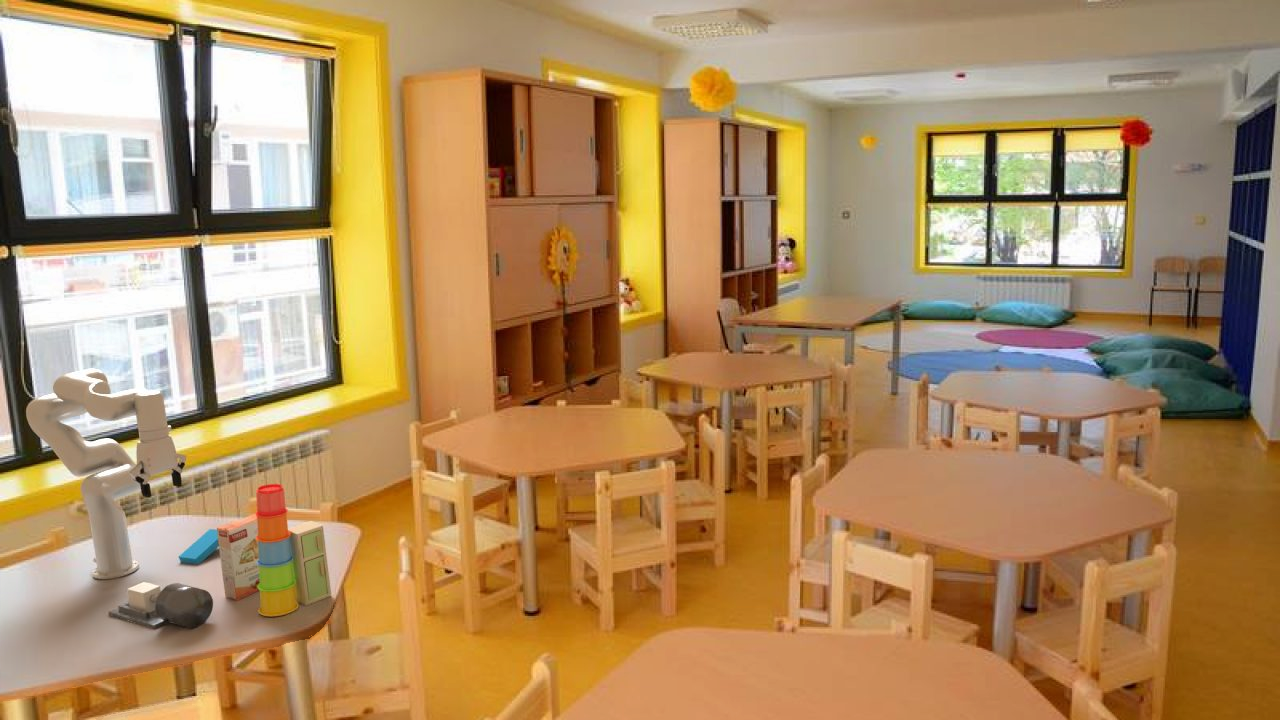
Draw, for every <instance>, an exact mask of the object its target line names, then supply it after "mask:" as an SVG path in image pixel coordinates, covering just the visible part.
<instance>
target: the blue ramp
mask: <svg viewBox="0 0 1280 720" xmlns="http://www.w3.org/2000/svg"><path fill="white" fill-rule="evenodd" d="M218 548H219V542H218V534H217V529H214V528H213V529H212V528H209V529H208V530H207V531H206V532H204V534H202V535H201V536H200V537H199V538H198V539H197V540H195V542H193V543H192V544H191V545H190V546H189V547H188V548H187V549H185V550H184V551H183V552H182V553H181V554H180V555H179V556H178V559H179V561H180V563H183V564H184V563H186V564H192V563H193V565H199V564H202V563H203V561H205V560H206V558H208V557H209V556H210V555H211V554H213V552H215V550H217V549H218Z"/></svg>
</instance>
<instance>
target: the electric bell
mask: <svg viewBox="0 0 1280 720" xmlns="http://www.w3.org/2000/svg"><path fill="white" fill-rule="evenodd" d="M213 608H214V600H213V597H212V595H211V593H210V592H209V591H208V590H207V589H203V588H199V587H194V586H190V585H187V584H183V583H179V582H174V583H170V584H168V585H166V586H165V587H164V588H163V589H162V590H161V592H160V593H159V595H158V597H157V599H156V603H155V610H154V611H152V612H146V611H143V610H139V609H136V608H132V607H130V604H129V601H126V602H125V603H122V604H120V605H118V607H116V608H113V609H112V610H111V609H110V610H109V611H108V615H109V616H112V617H114V618H118V619H121V620H124V619H125V621H127V620H129V621H128V622H131V621H132V622H131V623H134V622H135V624H137V623H138V625H142V626H145V627H148V628H150V629H154V630H155V629H157V628H159V627H162V626H163V625H166V624H168V623H172V624H175V625H178V626H182V627H186V628H189V629H194V628H198V627H200V626H202V625H203V624H204V623H205V622H207V620H208V619H209V618H210V616H211V614H212V612H213Z"/></svg>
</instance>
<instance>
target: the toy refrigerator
mask: <svg viewBox="0 0 1280 720" xmlns="http://www.w3.org/2000/svg"><path fill="white" fill-rule="evenodd" d="M288 532H290V537H289V542H290V553H291V555H292V556H293V560H292V571H293V578H294V579H295V580H296V584H295V585H294V589H295V599H296V601H297V602H298V603H300V604H302V605H304V606H309V605H312V604H314V603H317V602H319V601H322V600H324V599H327V598H329V597H331V596H332V589H331V581H330V575H329V574H330V572H329V566H328V565H329V564H328V557H327V556H328V555H327V548H326V540H325V534H324V533H325V532H324V526H323V524H320V523H318V522H315V521H313V520H310V521H305V522H302V523H300V524H297V525H293V526H290V527H288ZM311 603H312V604H311Z"/></svg>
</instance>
